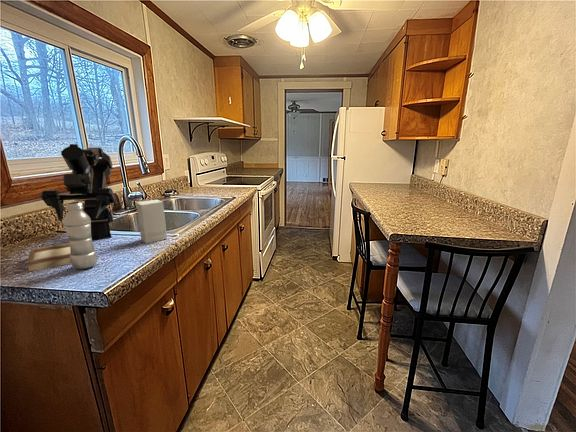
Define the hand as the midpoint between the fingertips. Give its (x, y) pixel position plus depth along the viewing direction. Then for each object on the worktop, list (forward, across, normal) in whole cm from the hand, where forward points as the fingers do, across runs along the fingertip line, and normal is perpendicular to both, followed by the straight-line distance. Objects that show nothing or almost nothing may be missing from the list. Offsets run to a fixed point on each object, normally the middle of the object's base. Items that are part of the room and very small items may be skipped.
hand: (78, 219), depth 86 cm
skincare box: (+1, +20, +19) cm, 27 cm away
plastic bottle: (+15, +2, +4) cm, 16 cm away
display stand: (+8, -8, +11) cm, 16 cm away
